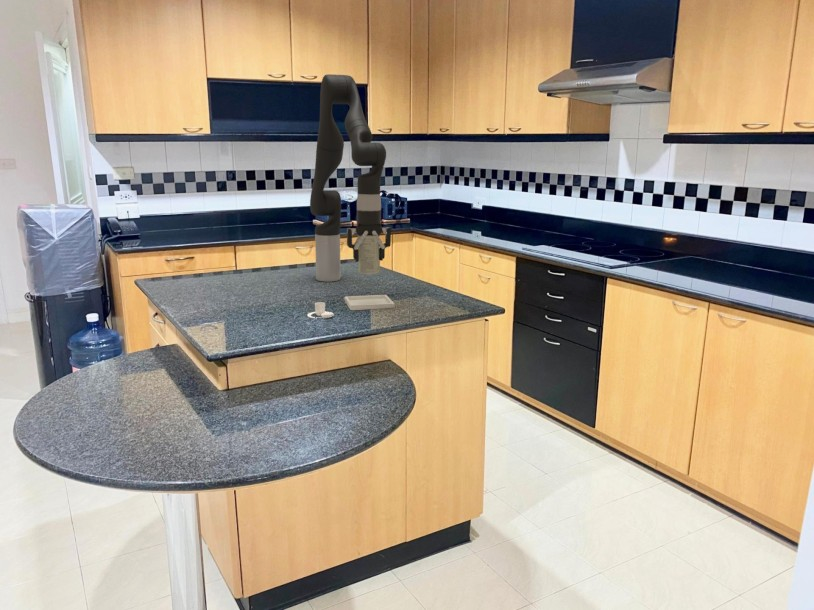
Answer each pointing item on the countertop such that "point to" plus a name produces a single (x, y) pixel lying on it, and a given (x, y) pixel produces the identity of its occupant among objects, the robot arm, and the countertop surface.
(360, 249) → the skincare box
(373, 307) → the tray
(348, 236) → the robot arm
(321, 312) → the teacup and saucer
